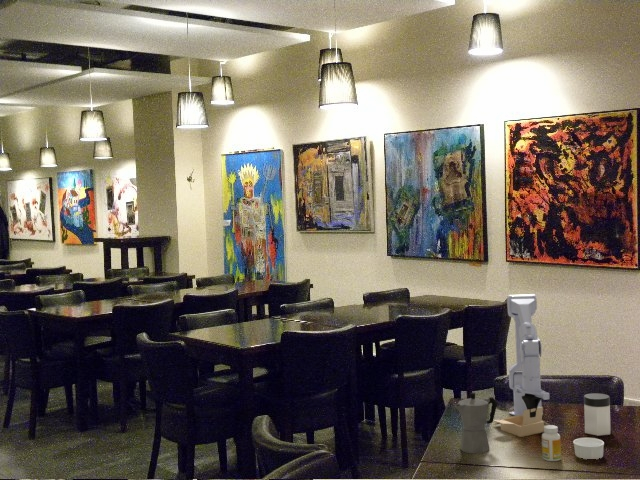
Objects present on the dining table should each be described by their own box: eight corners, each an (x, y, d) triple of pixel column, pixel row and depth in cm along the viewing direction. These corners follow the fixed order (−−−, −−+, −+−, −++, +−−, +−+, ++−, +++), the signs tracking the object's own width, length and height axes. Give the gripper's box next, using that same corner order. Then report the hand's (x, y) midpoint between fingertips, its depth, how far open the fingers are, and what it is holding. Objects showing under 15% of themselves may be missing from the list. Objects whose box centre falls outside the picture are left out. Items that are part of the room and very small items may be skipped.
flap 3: (541, 420, 268) (542, 406, 267) (541, 421, 268) (543, 406, 267) (522, 424, 264) (523, 410, 263) (522, 424, 264) (524, 410, 263)
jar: (616, 432, 265) (615, 396, 264) (603, 437, 260) (602, 400, 259) (592, 426, 272) (591, 391, 271) (578, 432, 267) (577, 396, 266)
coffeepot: (465, 456, 246) (463, 398, 245) (448, 448, 255) (446, 392, 254) (507, 448, 252) (505, 392, 252) (489, 441, 261) (487, 386, 260)
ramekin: (600, 462, 236) (600, 447, 236) (570, 458, 241) (569, 444, 241) (607, 453, 244) (607, 439, 244) (577, 450, 249) (577, 436, 248)
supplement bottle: (561, 456, 243) (560, 424, 242) (560, 462, 238) (559, 429, 237) (542, 455, 245) (542, 423, 244) (541, 461, 239) (540, 428, 239)
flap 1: (504, 420, 270) (492, 419, 268) (514, 423, 266) (503, 423, 264) (504, 421, 270) (492, 420, 268) (514, 424, 266) (503, 424, 264)
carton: (523, 425, 277) (523, 415, 277) (544, 431, 268) (543, 421, 268) (500, 429, 273) (500, 419, 273) (520, 437, 264) (520, 426, 264)
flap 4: (524, 415, 277) (533, 421, 279) (543, 421, 269) (552, 427, 271) (524, 414, 277) (534, 421, 279) (543, 420, 269) (553, 427, 271)
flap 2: (522, 415, 277) (514, 420, 281) (522, 414, 277) (514, 420, 281) (501, 419, 273) (493, 425, 277) (500, 418, 273) (493, 424, 277)
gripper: (507, 373, 269) (508, 414, 270) (537, 381, 256) (538, 423, 257) (523, 371, 273) (524, 411, 273) (554, 378, 260) (555, 420, 260)
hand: (532, 417), depth 265 cm, fingers closed, pressing on flap 3
